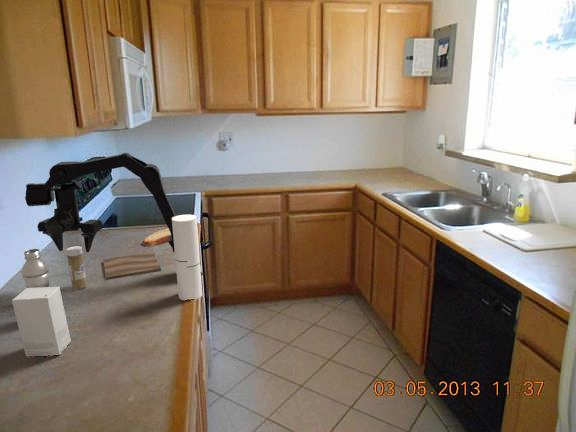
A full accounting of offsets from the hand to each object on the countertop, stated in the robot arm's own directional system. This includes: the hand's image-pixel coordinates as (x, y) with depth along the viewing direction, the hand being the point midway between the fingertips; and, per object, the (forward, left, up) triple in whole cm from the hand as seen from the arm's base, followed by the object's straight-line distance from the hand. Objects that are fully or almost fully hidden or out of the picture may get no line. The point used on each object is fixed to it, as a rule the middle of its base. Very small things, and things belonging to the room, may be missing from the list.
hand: (74, 251), depth 134 cm
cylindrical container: (-22, -31, -12) cm, 40 cm away
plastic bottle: (-18, +9, -12) cm, 24 cm away
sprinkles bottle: (0, 0, -12) cm, 13 cm away
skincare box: (-36, +7, -12) cm, 39 cm away
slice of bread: (+37, -34, -13) cm, 51 cm away
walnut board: (+11, -17, -12) cm, 24 cm away
